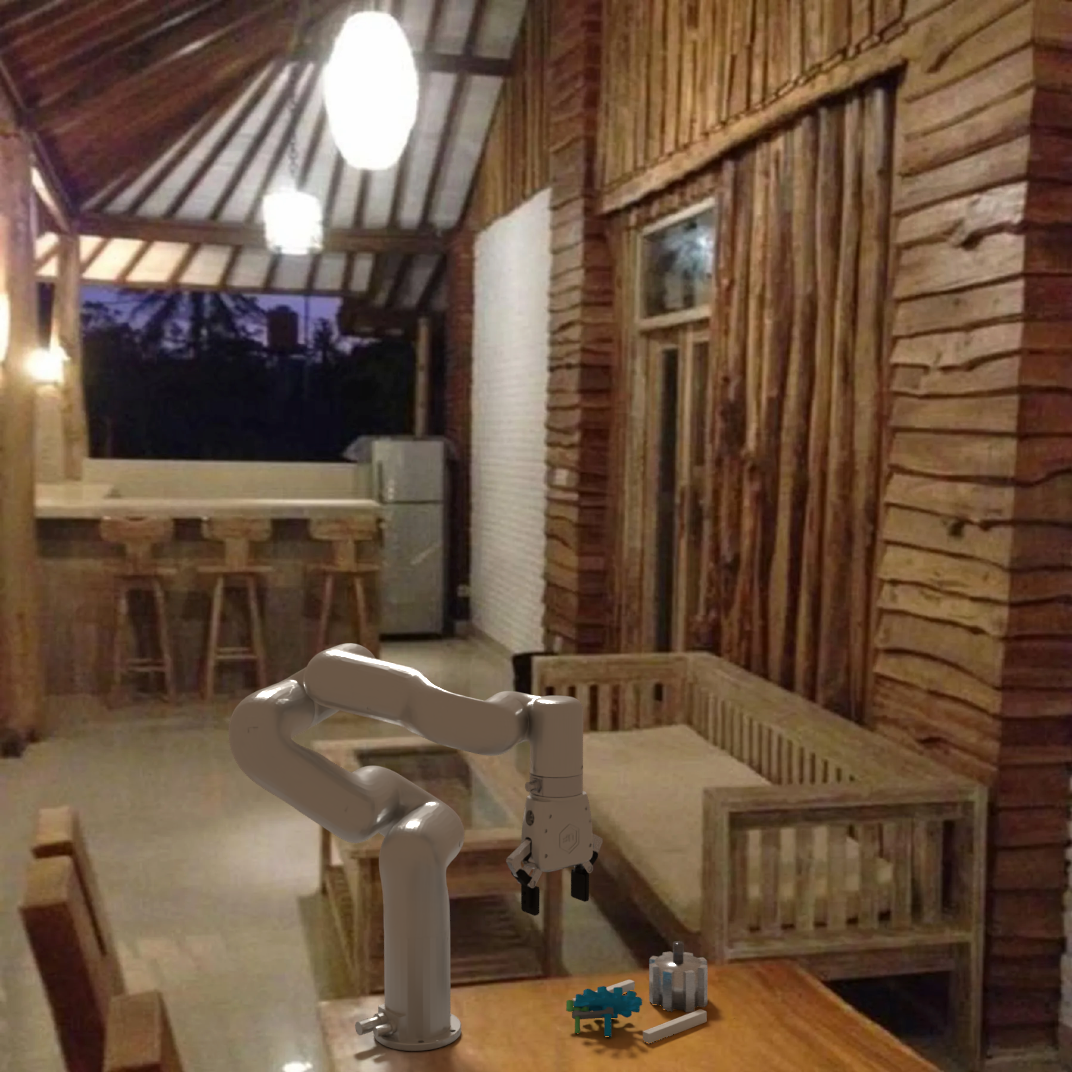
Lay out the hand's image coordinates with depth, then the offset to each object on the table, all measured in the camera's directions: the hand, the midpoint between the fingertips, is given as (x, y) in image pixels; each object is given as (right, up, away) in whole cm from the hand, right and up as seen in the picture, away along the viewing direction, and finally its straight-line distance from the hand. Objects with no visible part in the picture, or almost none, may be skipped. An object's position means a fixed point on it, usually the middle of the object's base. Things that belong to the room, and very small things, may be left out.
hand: (555, 905), depth 187 cm
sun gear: (+19, -19, +17) cm, 32 cm away
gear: (+7, -20, +7) cm, 22 cm away
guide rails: (+13, -20, +11) cm, 26 cm away
